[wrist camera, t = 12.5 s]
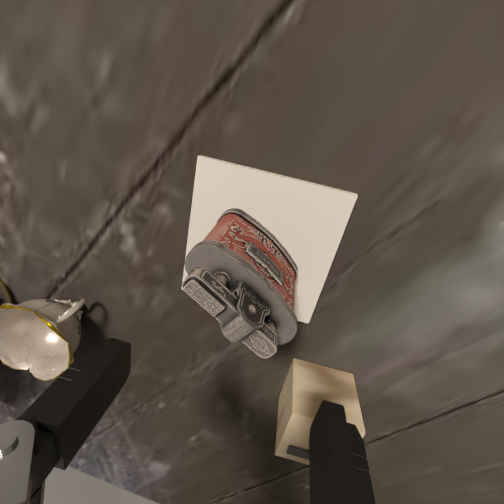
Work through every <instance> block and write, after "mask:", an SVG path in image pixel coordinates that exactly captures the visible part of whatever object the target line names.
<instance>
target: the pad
mask: <svg viewBox="0 0 504 504" xmlns="http://www.w3.org/2000/svg"><path fill="white" fill-rule="evenodd" d="M357 197H358V195H357V194H356V193H352V192H348V191H344V190H340V189H336V188H332V187H328V186H324V185H320V184H316V183H312V182H308V181H304V180H300V179H295V178H291V177H287V176H283V175H279V174H275V173H271V172H267V171H263V170H259V169H255V168H251V167H247V166H243V165H238V164H234V163H230V162H226V161H222V160H218V159H214V158H210V157H206V156H202V155H199V156H198V158H197V166H196V174H195V182H194V191H193V199H192V207H191V215H190V224H189V232H188V240H187V248H186V256H187V255H188V253H189V252H190V251H191V249H192V248H193V247H194V246H195V245H196V244H198V243H199V242H201V241H203V240H204V239H205V237H206V236H207V235H208V234H209V233H210V231H211V230H212V229H213V228H214V226H215V225H216V222H217V220H218V218H219V217H220V216H221V214H222V213H223V212H225V211H226V210H228V209H231V208H238V209H241V210H243V211H244V212H246V213H247V214H248V215H250V216H251V217H253V218H254V219H256V220H257V221H259V222H260V223H261V224H262V225H263V226H264V227H265V228H266V229H268V230H269V231H270V232H271V233H272V234H273V235H274V236H275V237H276V238H277V239H278V240H279V242H280V243H281V244H282V245H283V246H284V247H285V249H286V250H287V251H288V253H289V254H290V256H291V257H292V259H293V260H294V262H295V263H296V265H297V268H298V274H297V279H296V282H295V300H294V313H295V315H296V317H297V321H300V322H304V323H308V324H309V322H310V319H311V317H312V314H313V311H314V309H315V306H316V304H317V301H318V298H319V296H320V293H321V291H322V288H323V285H324V283H325V280H326V278H327V275H328V272H329V270H330V267H331V264H332V262H333V259H334V257H335V254H336V251H337V249H338V246H339V244H340V241H341V238H342V236H343V233H344V231H345V228H346V225H347V223H348V220H349V218H350V215H351V212H352V210H353V207H354V204H355V202H356V199H357ZM185 259H186V257H185ZM187 276H188V274H187V272H186V270H185V265H184V273H183V281H184V280H185V279H186V277H187ZM183 281H182V283H183ZM182 290H183V288H182Z"/></svg>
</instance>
